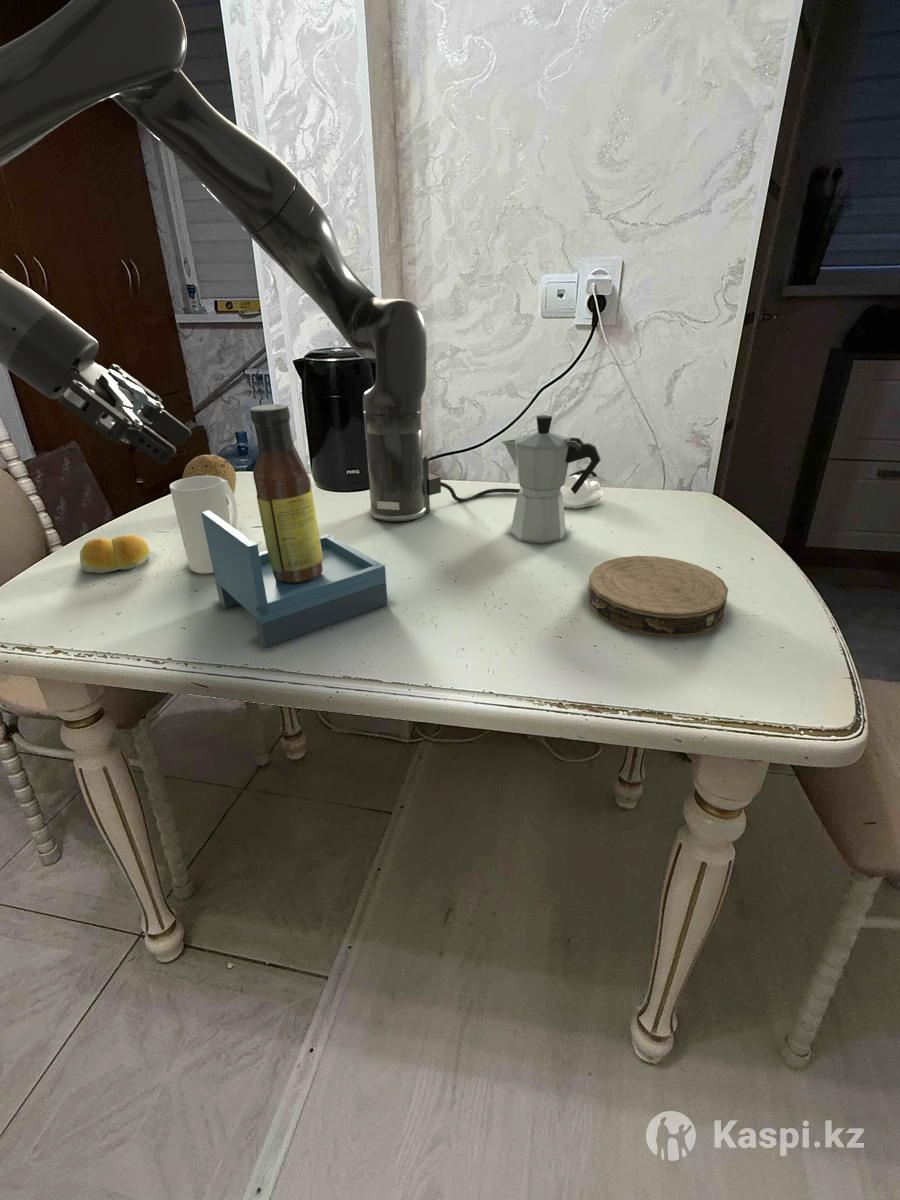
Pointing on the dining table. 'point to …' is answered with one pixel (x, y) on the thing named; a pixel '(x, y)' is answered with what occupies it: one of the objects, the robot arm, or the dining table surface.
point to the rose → (580, 493)
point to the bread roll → (113, 554)
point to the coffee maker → (545, 480)
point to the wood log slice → (657, 596)
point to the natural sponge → (211, 469)
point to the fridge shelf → (291, 584)
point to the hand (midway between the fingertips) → (179, 448)
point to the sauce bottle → (285, 499)
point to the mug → (190, 503)
